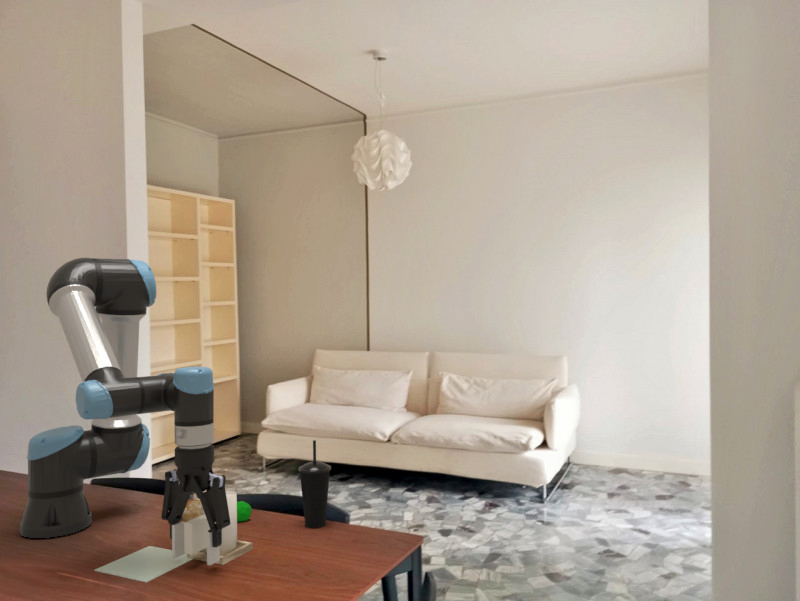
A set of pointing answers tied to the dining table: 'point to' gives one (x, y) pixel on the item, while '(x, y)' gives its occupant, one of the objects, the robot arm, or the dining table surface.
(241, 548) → the holder
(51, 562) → the dining table surface
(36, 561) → the dining table surface
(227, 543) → the white cylinder with tab
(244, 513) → the polyhedron
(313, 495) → the drinking cup
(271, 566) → the dining table surface
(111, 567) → the plate
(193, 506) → the bread roll
